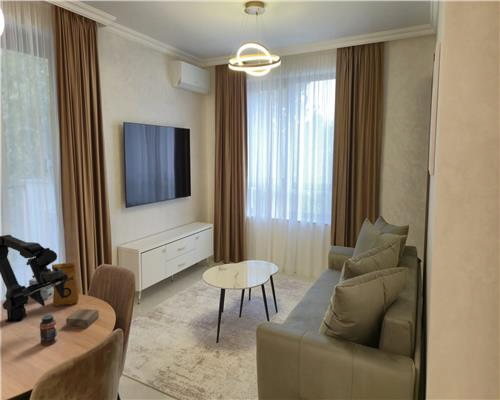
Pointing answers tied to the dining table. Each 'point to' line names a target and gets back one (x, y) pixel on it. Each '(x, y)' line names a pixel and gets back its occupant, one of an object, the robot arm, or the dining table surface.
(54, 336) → the supplement bottle
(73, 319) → the metal block
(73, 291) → the coffee package
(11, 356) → the dining table surface
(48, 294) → the light bulb box
